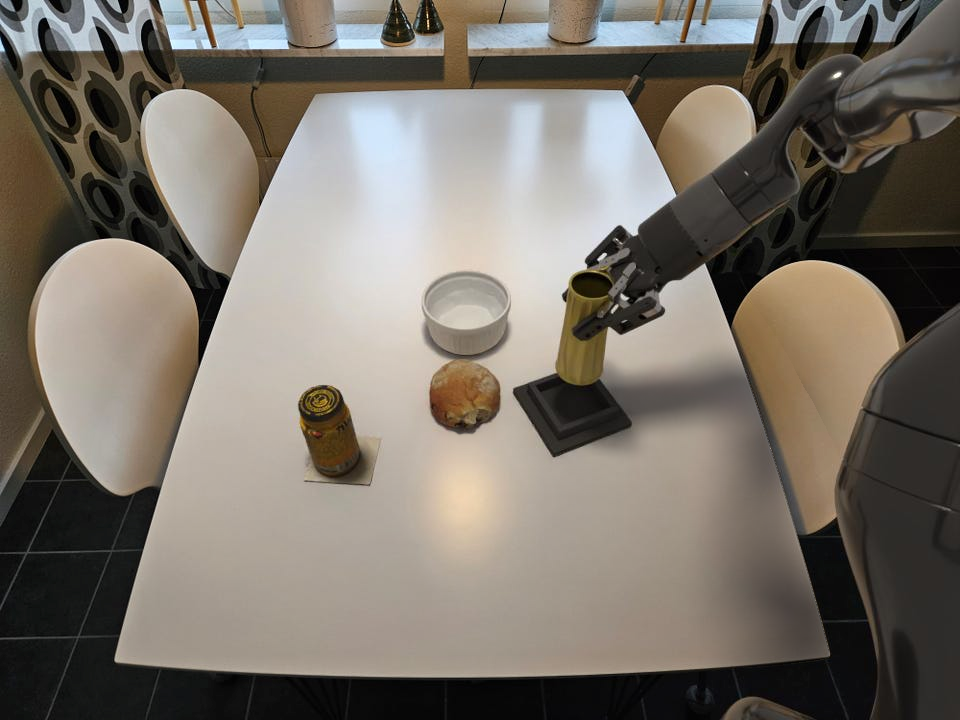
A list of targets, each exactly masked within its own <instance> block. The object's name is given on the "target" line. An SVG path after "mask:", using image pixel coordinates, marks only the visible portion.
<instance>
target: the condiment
mask: <svg viewBox="0 0 960 720" xmlns="http://www.w3.org/2000/svg"><path fill="white" fill-rule="evenodd" d="M297 409H298V412H299V425H300V428H301V432H302V435H303V437H304V439H305V443H306V446H307V450H308V452H309V455H310V460H309V464H308V467H307V469H306V473H305V476H304V481H308V482H309V481H310V482H317V483H318V482H322V483H333V484H334V483H337V484H340V483H342V484H344V483H345V484H353V485H371V481H372V478H373V474H374V469H375V466H376V462H377V457H378V452H379V449H380V444H381V438H382V437H377V436H361V435H357V434H356V431H355V427H354V422H353V418H352V414H351V411H350V408H349V406H348V404H347V403H346V402H345V399H344V396H343V394H342V392H341V391H340V390H339V389H338V388H337V387H335V386H332V385H329V384H318V385H315V386H312V387H310V388H308V389H307V390H305V391H304V392H303V393H302V394H301V396H300V398H299V400H298V403H297Z"/></svg>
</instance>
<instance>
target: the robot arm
mask: <svg viewBox="0 0 960 720" xmlns="http://www.w3.org/2000/svg"><path fill="white" fill-rule="evenodd" d="M956 118H960V0H942V1H941V2H940V3H939V4H938V5H937V6H936V7H934V8H933V10H932V11H930V12H929V14H927V15H926V16H925V17H924V19H923V20H922V21H921V22H920V23H919V24H918V25H916V27H915V28H914V29H913V30H912V31H911V32H910V33H909V34H908V35H907V36H906V37H905V38H904V39H903V40H902V41H901V42H900V43H899V44H897V45H896V46H894V47H893V48H891V49H888V50H886V51H885V52H883V53H881V54H879V55H876V56H875V57H873V58H871V59H869V60H867V61H866V62H864V61H863V60H862V59H861V58H860V57H859V56H857V55H855V54H852V53H841V54H837V55H832V56H829V57H827V58H825V59H823V60H821V61H820V62H819V63H817V64H815V65H814V66H813V67H812V68H811V69H810V70H809V71H808V72H807V73H806V74H805V75H804V76H803V77H802V78H801V80H800V81H799V82H798V83H797V84H796V86H795V87H794V89H792V90H791V93H789V95H788V96H787V97H786V99H785V100H784V101H783V103H781V106H780V107H779V108H778V109H777V111H776V112H775V113H774V114H773V116H772V117H771V118H770V119H769V120H768V122H766V123H765V125H764V126H763V127H762V128H761V129H760V130H759V131H758V132H757V134H755V135H754V136H753V137H752V138H751V139H750V140H749V141H748V142H747V143H746V144H745V145H743V146H742V147H741V148H739V150H737V151H736V152H735V153H733V154H732V155H731V156H729V157H728V158H727V159H726V160H724V161H723V162H722V163H720V164H719V165H717V167H715V168H714V169H713V170H711V172H709V173H708V174H706V175H705V176H703V177H701V178H699V179H698V180H696V181H695V182H693V183H691V184H690V185H688V186H687V187H685V188H684V189H683V190H682V191H681V192H680V193H678V194H677V195H675V197H673V198H672V199H670V200H669V201H668V202H666V203H665V204H664V205H663V206H662V207H660V208H659V209H658V210H656V211H655V212H654V213H653V214H651V215H650V216H649V217H647V218H646V219H645V220H643V222H641V223H640V224H639V225H638V227H637V234H636V235H632V234H631V233H630V232H629V231H628V230H627V229H626V228H625V227H624V226H623V225H621V224H619V225H616V226H615V227H614V229H612V230H611V231H610V232H609V233H608V235H607V236H605V238H604V239H603V240H601V242H599V244H598V245H597V246H596V247H595V248H594V249H593V250H592V251H591V252H590V253H589V254H588V255H587V256H586V257H585V259H584V264H585V265H586V269H585V270H597V271H600V272H603V273H605V274H607V275H609V276H610V277H611V278H612V279H613V280H614V286H613V287H612V288H611V290H610V291H609V292H608V299H607V300H606V301H605V303H604V304H603V305H602V306H601V307H600V309H599V310H598V311H597V312H593V313H592V314H590V315H589V316H588V317H586V318H585V319H584V320H582V321H581V322H580V323H578V324H577V325H575V326H574V327H573V328H572V329H571V330H572V334H573V336H575V337H576V338H577V339H579V340H580V341H587V340H590V339H591V338H593V337H594V336H596V335H597V334H598V333H600V332H601V331H603V330H604V329H605V328H607V327H608V328H610V329H612V330H613V331H614V332H616V333H617V334H618V335H619V336H623V335H625V334H628V333H630V332H631V331H633V330H635V329H638V328H640V327H643V326H644V325H647V324H648V323H651V322H653V321H654V320H657V319H659V318H661V317H663V316H664V315H665V313H666V308H665V307H664V306H663V305H662V303H660V302H661V301H660V296H659V294H660V293H661V292H662V291H663V289H664V288H665V286H666V285H667V284H668V283H670V282H673V281H682V280H683V279H685V278H686V277H688V276H689V275H690V274H692V273H693V272H695V271H697V270H698V269H699V268H700V267H702V266H703V265H705V264H706V263H707V262H709V261H711V260H712V259H714V257H716V256H717V255H720V253H722V252H723V251H724V250H727V249H728V248H729V247H730V246H732V245H733V244H734V243H736V242H737V241H738V240H739V239H740V238H741V237H742V236H743V235H745V234H746V233H747V232H748V231H749V230H750V229H751V228H753V227H754V226H756V225H758V224H759V223H760V222H762V221H763V220H765V218H767V217H769V216H770V215H771V214H772V213H774V212H776V211H777V210H778V209H780V208H781V207H782V206H784V205H785V204H787V203H788V202H789V201H791V200H792V199H793V198H795V196H797V194H798V193H799V191H800V188H801V181H800V179H799V175H798V173H797V171H796V169H795V167H794V164H793V163H792V160H791V157H790V155H789V142H790V140H791V137H792V136H793V134H794V133H795V132H796V131H797V130H798V129H799V130H800V131H801V132H802V135H804V136H805V138H806V139H807V141H808V142H809V143H810V145H811V146H812V147H813V148H814V150H815V151H816V152H817V153H818V155H819V156H820V157H821V159H822V160H823V161H824V163H825V164H826V165H827V166H828V167H830V169H832V170H834V171H836V172H838V173H841V174H853V173H857V172H860V171H863V170H865V169H868V168H870V167H871V166H873V165H875V164H876V163H878V162H879V161H880V160H882V159H883V158H884V157H885V156H887V155H888V154H889V153H890V152H892V151H893V149H895V147H897V146H902V145H907V144H911V143H916V142H919V141H923V140H925V139H927V138H929V137H931V136H934V135H936V134H937V133H939V132H940V131H942V130H943V129H945V128H947V127H948V126H949V125H950V124H951V123H952V122H953V121H954V120H956ZM603 254H605V256H604V257H603V258H602V259H600V257H602V255H603ZM599 259H600V260H599ZM567 293H568V287H567V288H566V290H565V291H564V292H562V293H561V298H562V301H563V302H564V303H566V301H567ZM621 295H623V296H624V297H625V298H627V299H625V300H624V299H623V298H622V297H621ZM616 306H617V307H616ZM615 307H616V308H615ZM614 308H615V310H614V311H613V312H612V310H613V309H614ZM861 407H862V408H859V412H858V414H857V417H856V420H855V423H854V426H853V428H852V432H851V434H850V436H849V440H848V443H847V446H846V449H845V451H844V455H843V457H842V460H841V463H840V465H839V470H838V472H837V474H836V478H835V485H834V507H835V515H836V519H837V523H838V528H839V533H840V536H841V539H842V542H843V546H844V549H845V553H846V556H847V559H848V562H849V565H850V569H851V571H852V575H853V577H854V580H855V583H856V586H857V589H858V592H859V595H860V598H861V601H862V604H863V607H864V610H865V613H866V618H867V621H868V624H869V628H870V632H871V637H872V642H873V647H874V651H875V657H876V664H877V681H876V683H877V684H876V691H875V697H874V698H875V699H874V702H873V703H874V704H873V708H872V710H871V715H870V717H869V720H960V301H959V302H958V303H956V304H955V305H953V306H952V307H951V308H950V309H948V310H947V311H946V312H944V313H943V314H941V315H940V316H939V317H938V318H936V319H935V320H933V321H932V322H931V323H929V324H928V325H926V327H924V328H923V329H922V330H920V331H919V332H918V333H917V334H916V335H914V337H912V338H911V339H910V340H909V341H908V342H906V343H905V344H904V345H903V346H902V347H900V348H899V349H898V350H897V351H896V352H895V353H894V354H892V355H891V356H890V358H888V359H887V361H886V362H885V363H884V364H883V365H882V366H881V367H880V369H879V370H878V371H877V372H876V374H875V375H874V376H873V378H872V380H871V381H870V383H869V385H868V388H867V390H866V392H865V394H864V397H863V400H862V403H861ZM719 720H817V718H814V717H811V716H810V715H809V716H808V715H806V714H803V713H801V712H798V711H796V710H794V709H791V708H789V707H787V706H784V705H781V704H780V703H776V702H774V701H771V700H768V699H765V698H763V697H758V696H746V697H743V698H740V699H738V700H736V701H735V702H734V703H732V704H731V705H730V707H729V708H728V709H727V710H726V711H725V712H724V714H723V715H722V716H721V718H720V719H719Z"/></svg>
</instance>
